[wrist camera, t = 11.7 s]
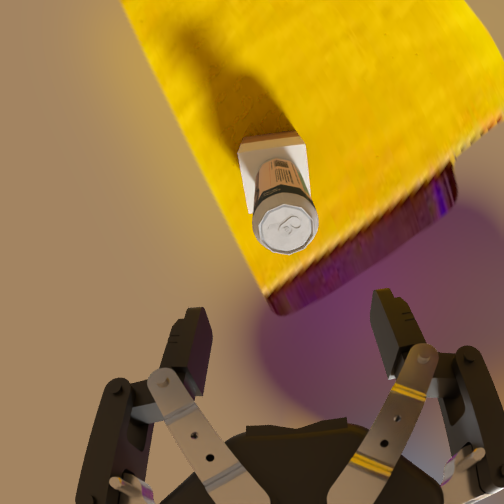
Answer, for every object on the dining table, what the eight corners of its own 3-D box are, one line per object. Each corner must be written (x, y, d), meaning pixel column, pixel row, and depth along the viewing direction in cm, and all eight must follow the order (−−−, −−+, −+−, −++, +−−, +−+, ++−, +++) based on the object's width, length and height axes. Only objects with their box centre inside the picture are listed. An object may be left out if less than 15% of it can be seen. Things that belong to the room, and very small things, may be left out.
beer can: (246, 177, 31) (237, 228, 20) (279, 147, 29) (289, 183, 19) (277, 207, 32) (283, 271, 22) (310, 180, 31) (334, 232, 20)
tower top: (240, 144, 34) (237, 152, 29) (299, 136, 33) (305, 143, 29) (250, 197, 37) (248, 213, 33) (305, 190, 36) (311, 205, 32)
